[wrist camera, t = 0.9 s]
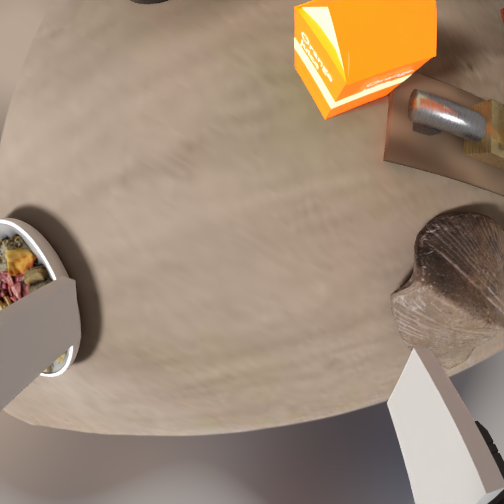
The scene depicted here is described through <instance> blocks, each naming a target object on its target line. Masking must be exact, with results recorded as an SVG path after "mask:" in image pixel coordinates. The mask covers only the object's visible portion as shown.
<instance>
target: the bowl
mask: <svg viewBox="0 0 504 504" xmlns="http://www.w3.org/2000/svg"><path fill="white" fill-rule="evenodd" d="M61 276H64V277H67V278H69V276H68V274H67V272H66V270H65V268H64V266H63V264H62V262H61V260H60V258H59V257H58V255H57V253H56V252H55V250H54V249H53V248H52V246H51V245H50V244H49V242H48V241H47V240H46V239H45V238H44V237H43V236H42V235H41V234H40V233H39V232H38V231H37V230H36V229H35V228H33V227H32V226H30V225H29V224H27V223H25V222H23V221H21V220H18V219H14V218H2V219H0V310H2V309H4V308H5V307H7V306H9V305H11V304H12V303H14V302H16V301H18V300H19V299H21V298H23V297H25V296H26V295H28V294H30V293H32V292H34V291H35V290H37V289H39V288H41V287H43V286H45V285H46V284H48V283H50V282H52V281H54V280H56V279H58V278H60V277H61ZM77 306H78V303H77ZM78 315H79V323H80V331H81V321H80V313H79V308H78ZM79 346H80V340H78V341H77V342H76V343H75V344H74V345H73V346H71V347H70V348H69V349H68V350H67V351H66V352H65V353H63V354H62V355H61V356H60V357H59V358H58V359H57V360H55V361H54V362H53V363H52V364H51V365H50V366H49V367H48V368H47V369H45V370H44V371H43V372H42V373H41V374H40V375H42V376H46V377H55V376H58V375H61V374H62V373H64V372H65V371H66V370H67V369H68V368H69V367H70V366H71V365H72V363H73V362H74V360H75V358H76V356H77V353H78V350H79Z"/></svg>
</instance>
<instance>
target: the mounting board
mask: <svg viewBox="0 0 504 504" xmlns="http://www.w3.org/2000/svg"><path fill="white" fill-rule="evenodd" d="M414 89H418V90H422V91H425V92H428V93H430V94H433V95H436V96H439V97H442V98H444V99H447V100H450V101H452V102H455V103H457V104H460V105H462V106H465V107H469V106H472V105H475V104H478V103H481V102H484V101H486V100H483V99H481V98H479V97H477V96H475V95H473V94H470V93H468V92H466V91H463V90H461V89H459V88H456V87H454V86H451V85H449V84H446V83H444V82H441V81H438V80H435V79H433V78H430V77H427V76H424V75H421V74H418V73H415V72H414V73H412V75H411V76H409V77H408V78H407V79H406V80H405V81H403V82H401V83H400V84H399V85H398V86H397V87H395V88H394V89H393V90H392V91H391V92H390V93H389V107H388V121H387V132H386V142H385V151H384V160H383V161H388V162H392V163H396V164H400V165H404V166H408V167H412V168H416V169H420V170H423V171H427V172H431V173H434V174H438V175H441V176H444V177H448V178H451V179H454V180H458V181H461V182H464V183H467V184H470V185H473V186H476V187H479V188H482V189H485V190H488V191H490V192H493V193H496V194H499V195H501V196H504V170H502V169H500V168H497V167H495V166H493V165H490V164H488V163H485V162H483V161H480V160H477V159H475V158H472V157H469V156H467V155H464V154H463V151H464V138H461V137H458V136H456V135H453V134H450V133H447V132H444V131H443V133H440V134H436V135H432V136H428V135H425V134H421V133H418V132H414V131H412V128H413V121H410V120H409V117H408V102H409V98H410V95H411V93H412V91H413V90H414Z"/></svg>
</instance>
